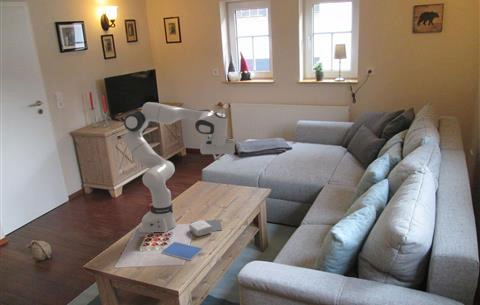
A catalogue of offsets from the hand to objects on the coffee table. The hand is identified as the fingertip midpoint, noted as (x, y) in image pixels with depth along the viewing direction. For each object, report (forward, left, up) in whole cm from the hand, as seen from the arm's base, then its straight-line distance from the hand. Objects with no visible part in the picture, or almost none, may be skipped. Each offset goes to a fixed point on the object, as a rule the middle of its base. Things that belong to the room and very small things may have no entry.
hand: (216, 159), depth 238 cm
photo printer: (-10, -21, -36) cm, 43 cm away
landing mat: (-9, -10, -38) cm, 41 cm away
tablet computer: (-23, -36, -39) cm, 58 cm away
